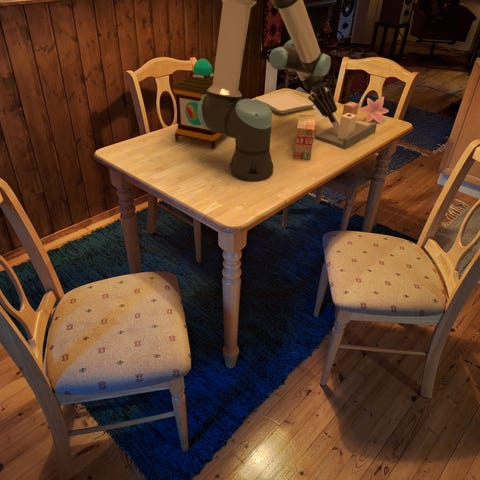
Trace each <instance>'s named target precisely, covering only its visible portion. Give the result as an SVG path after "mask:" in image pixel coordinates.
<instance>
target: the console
mask: <svg viewBox="0 0 480 480" xmlns="http://www.w3.org/2000/svg"><path fill="white" fill-rule="evenodd" d="M377 125H378V122H377V121H373V122H371V123H369V124H368V125H365V124H363V123H359V122H356V124H355V129H354V133H353V134H351V135H349V136H348V137H346V138H344V140H342V139H339V138H338V133H339V129H338V130H337V131H336V130H335V128H334V126H333V125H332V126H331V127H329V128H327V129H326V130H323V131H321V132H319V133H318V134H315V135H314V136H315V137H314V139H315V140H317V141H320V142H323V143H325V144H330V145H331V146H334V147H338V148H340V149H342V150H347V149H349V148H350V147H351V146H353V145H355V144H357V143H359V142H360V141H362V140H363V139H366V138H367V137H369V136H371V135H372V134H374V133H375V132H376V129H377Z"/></svg>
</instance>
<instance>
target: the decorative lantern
mask: <svg viewBox="0 0 480 480" xmlns="http://www.w3.org/2000/svg"><path fill="white" fill-rule="evenodd" d="M192 70H193V71H192V72H190V73H189V75H188V76H186V78H184V79H182V80H180V81H178V82H177V83H176V84H174V86H173V87H172V91H173V93H174V94H175V100H176V101H175V103H176V117H177V127H176V129H175V132H174V139H175V141H176V142H179V141H180V139H181V137H183V138H188V139H193V140H196V141H197V140H198V141H203V142H207V143H209V144H210V146H211V149H212V150H216V143H217V142H218V141H219V140H220V139H221V138H222V137H223V136H224V135H223V134H220V133H217V132H213V131H211V130H209V129H207V128H205V127H204V126H203V125H202V124H201V123H200V121H199V118H198V113H197V109H198V104H199V101H200V100H201V98H202V96H204V95H205V94H207V89H208V88H209V87H211V86H212V84H213V77H214V71H213V66H212V64H211V63H210V62H209V61H208V59H206V58H199V59H198V60H196V62H195V63H194V64H193V67H192Z"/></svg>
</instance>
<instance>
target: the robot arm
mask: <svg viewBox="0 0 480 480" xmlns="http://www.w3.org/2000/svg"><path fill="white" fill-rule="evenodd" d="M257 1H258V0H221V2H222V8H221V16H220V25H219V32H218V38H217V47H216V54H215V55H216V56H215V62H214V77H213V84H212V86H211V87H209V88H208V89H207V94H205V95H204V96H202V98H201V100H200V101H199V104H198V109H197V113H198V118H199V121H200V123H201V124H202V125H203V126H204V127H205V128H207V129H209V130H211V131H213V132H217V133H220V134H223V136H226V137H229V138H232V139H234V140H235V142H234V143H235V146H234V148H235V149H234V152H233V155H232V158H231V160H230V163H229V172H230V175H232V176H233V177H235V178H236V179H239V180H241V181H244V182H245V181H247V182H259V181H265V180H266V179H269V178H271V176H272V175H273V174H274V167H275V166H274V162H273V161H272V160H273V159H272V156H271V151H270V150H271V149H270V148H271V136H272V126H273V110H272V109H271V108H270V107H269V106H268V105H267V104H266V103H264V102H262V101H259V100H255V98H254V99H251V98H243V99H242V93H241V92H240V90H239V86H240V85H239V84H240V79H241V72H242V66H243V60H244V53H245V52H244V51H245V46H246V39H247V33H248V26H249V21H250V16H251V15H250V14H251V8H252V7H254V6H255V5H256V4H257ZM270 2H271V4H272V6H273V8H275V9H277V10H278V12H279V14H280V16H281V18H282V21H283V23H284V26H285V27H286V30H287V33H288V34H289V36H290V39H289V40H288V41H286V43H285V44H284V45H283V46H279V47H276V48H274V49H272V51H271V52H270V54H269V64H270V66H271V67H272V68H273V69H274V70H277V71H278V70H279V71H281V70H288V71H292V72H293V71H294V72H296V74H297V75H298V77H299V79H300V81H302V85H303V86H304V88H305V90H306V91H309V94H310V95H308V96H307V98H308V100H310V101H312V102H313V104H314V106H315V107H316V109H317V110H318V111H319V113H320V114H321V115H322V117H324V118H328V119H329V121H330V123H331V124H332V127H333V126H334V128H335V130H336V131H337V130H338V129H339V127H340V121H341V119H339V116H338V114H337V113H336V112H337V111H338V107H337V103H336V101H335V98H334V96H333V94H332V88H331V87H329V86H328V87H326V86H325V84H324V83H323V80H324V77H325V76H326V75H327V74H328V73H329V71H330V68H331V64H332V62H331V61H332V60H331V56H329V55H328V54H325V52H324V53H322V51H321V50H320V49H321V48H320V47H319V44H318V41H317V37H316V35H315V32H314V29H313V25H312V23H311V20H310V18H309V15H308V11H307V8H306V6H305V3H304V0H270Z"/></svg>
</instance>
